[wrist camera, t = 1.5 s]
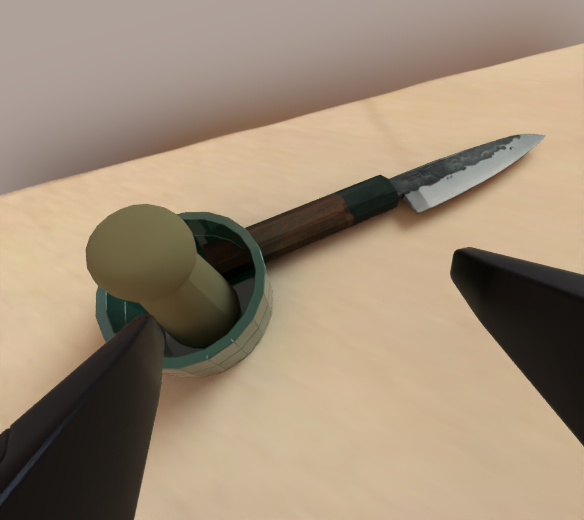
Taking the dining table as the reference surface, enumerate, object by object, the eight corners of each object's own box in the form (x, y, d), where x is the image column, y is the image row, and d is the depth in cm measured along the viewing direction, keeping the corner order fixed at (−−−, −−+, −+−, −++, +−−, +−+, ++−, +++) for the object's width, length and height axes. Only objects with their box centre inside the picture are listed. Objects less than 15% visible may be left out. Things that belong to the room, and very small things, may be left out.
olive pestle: (149, 312, 23) (37, 241, 14) (206, 262, 25) (142, 168, 16) (196, 364, 21) (103, 323, 12) (254, 305, 23) (215, 227, 14)
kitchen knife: (218, 292, 22) (200, 241, 24) (225, 302, 24) (208, 254, 26) (574, 140, 27) (533, 110, 30) (556, 158, 29) (519, 128, 32)
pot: (238, 400, 21) (220, 398, 16) (106, 347, 23) (58, 333, 18) (291, 264, 25) (288, 233, 21) (178, 231, 28) (153, 197, 23)
